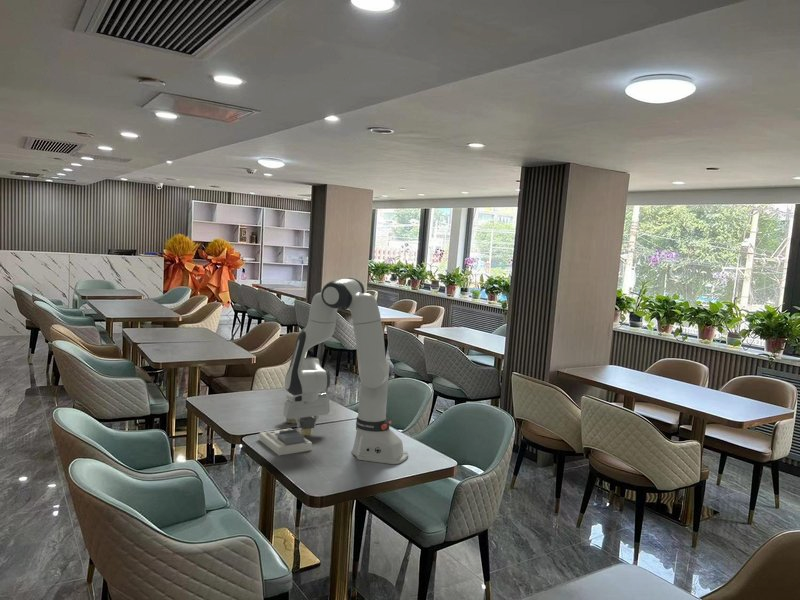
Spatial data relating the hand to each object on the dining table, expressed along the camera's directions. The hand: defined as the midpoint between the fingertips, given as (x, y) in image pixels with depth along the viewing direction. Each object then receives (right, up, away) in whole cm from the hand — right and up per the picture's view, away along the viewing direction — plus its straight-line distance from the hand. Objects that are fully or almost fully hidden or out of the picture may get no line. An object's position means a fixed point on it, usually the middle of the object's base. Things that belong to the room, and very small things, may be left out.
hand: (306, 426), depth 250 cm
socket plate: (-6, -4, -14) cm, 16 cm away
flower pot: (-9, -2, +17) cm, 19 cm away
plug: (0, -3, 0) cm, 3 cm away
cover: (-3, -2, -19) cm, 19 cm away
